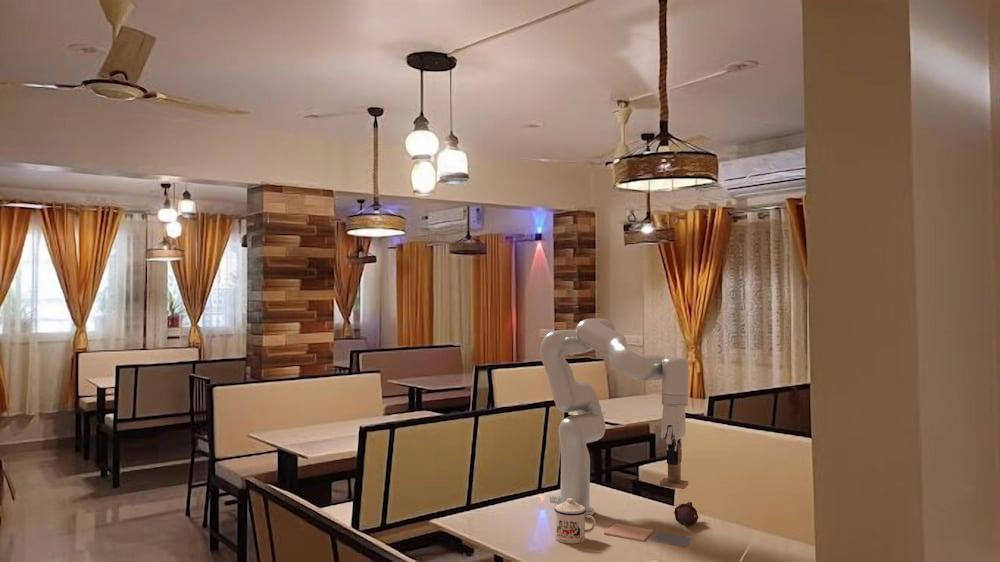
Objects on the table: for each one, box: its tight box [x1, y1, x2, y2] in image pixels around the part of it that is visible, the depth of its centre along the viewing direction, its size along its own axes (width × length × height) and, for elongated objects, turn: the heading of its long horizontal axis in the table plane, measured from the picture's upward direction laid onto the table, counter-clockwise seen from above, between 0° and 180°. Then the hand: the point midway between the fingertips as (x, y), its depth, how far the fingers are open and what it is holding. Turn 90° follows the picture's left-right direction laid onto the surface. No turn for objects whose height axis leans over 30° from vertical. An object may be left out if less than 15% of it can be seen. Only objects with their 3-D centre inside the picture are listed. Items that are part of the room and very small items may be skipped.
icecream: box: [673, 501, 699, 526], centre depth 224 cm, size 7×7×15 cm
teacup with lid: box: [554, 498, 597, 545], centre depth 209 cm, size 12×9×12 cm
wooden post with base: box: [659, 442, 689, 490], centre depth 209 cm, size 7×5×12 cm
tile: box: [603, 523, 654, 542], centre depth 214 cm, size 12×2×10 cm
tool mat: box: [651, 531, 694, 548], centre depth 209 cm, size 10×9×1 cm
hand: (674, 462), depth 209 cm, fingers closed on wooden post with base, 3 cm apart
